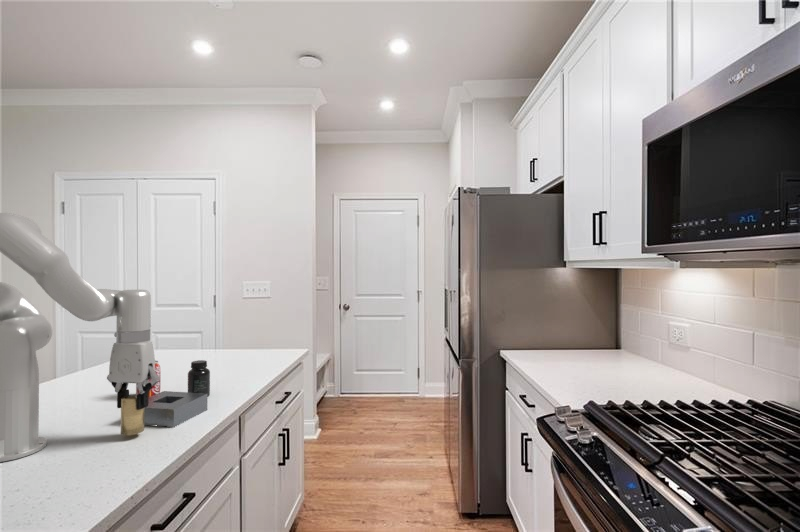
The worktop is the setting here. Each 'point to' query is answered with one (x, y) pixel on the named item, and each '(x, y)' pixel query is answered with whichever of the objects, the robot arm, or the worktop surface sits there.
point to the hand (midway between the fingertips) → (132, 406)
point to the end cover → (131, 416)
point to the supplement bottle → (199, 378)
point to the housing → (174, 408)
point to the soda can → (156, 387)
